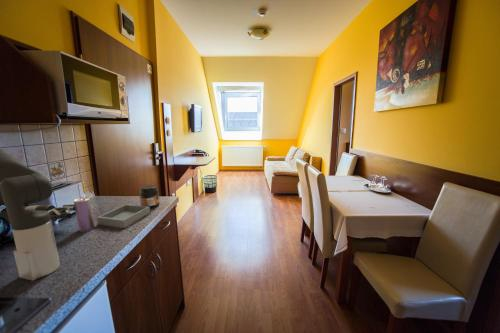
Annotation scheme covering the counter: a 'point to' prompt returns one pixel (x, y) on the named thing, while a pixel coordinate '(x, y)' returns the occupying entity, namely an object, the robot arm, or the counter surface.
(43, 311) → the counter surface
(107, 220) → the tray
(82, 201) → the beverage can
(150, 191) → the supplement container
